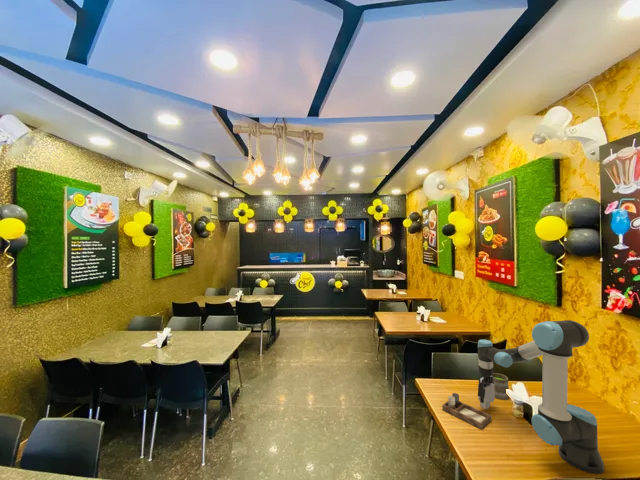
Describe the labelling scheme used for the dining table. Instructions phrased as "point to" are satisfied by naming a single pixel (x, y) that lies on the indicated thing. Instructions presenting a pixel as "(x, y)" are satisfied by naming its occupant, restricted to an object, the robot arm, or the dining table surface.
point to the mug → (500, 386)
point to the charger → (489, 394)
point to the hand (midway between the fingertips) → (486, 404)
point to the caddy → (466, 412)
